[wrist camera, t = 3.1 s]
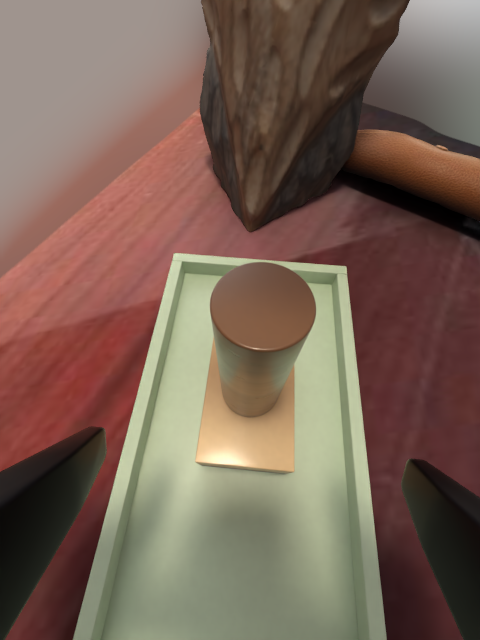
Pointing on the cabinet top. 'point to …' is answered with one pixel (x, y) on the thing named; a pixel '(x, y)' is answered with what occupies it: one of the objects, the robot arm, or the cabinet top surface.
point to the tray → (239, 493)
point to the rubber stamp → (254, 368)
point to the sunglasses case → (418, 169)
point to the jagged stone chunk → (287, 94)
